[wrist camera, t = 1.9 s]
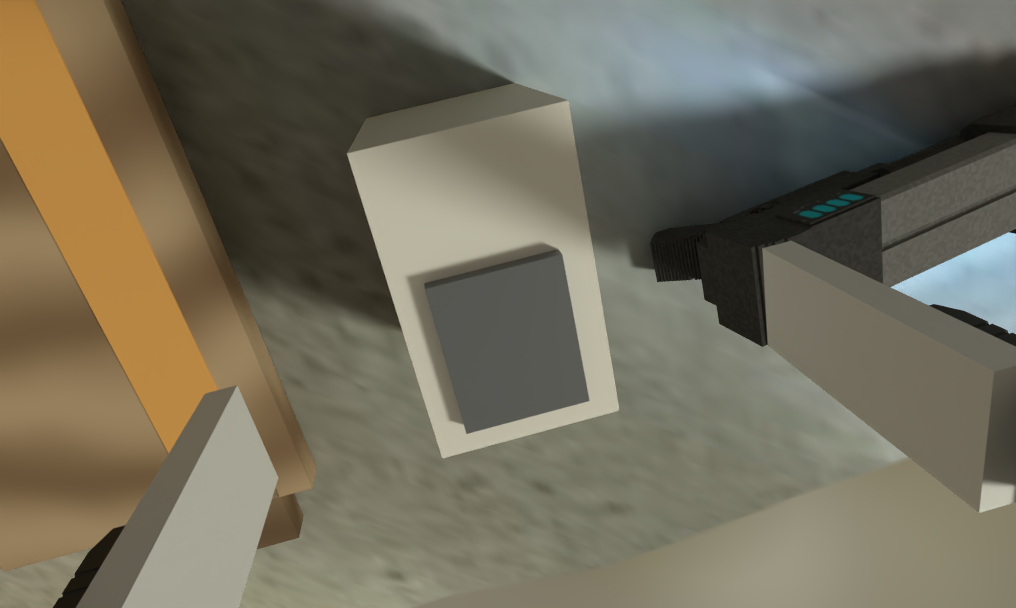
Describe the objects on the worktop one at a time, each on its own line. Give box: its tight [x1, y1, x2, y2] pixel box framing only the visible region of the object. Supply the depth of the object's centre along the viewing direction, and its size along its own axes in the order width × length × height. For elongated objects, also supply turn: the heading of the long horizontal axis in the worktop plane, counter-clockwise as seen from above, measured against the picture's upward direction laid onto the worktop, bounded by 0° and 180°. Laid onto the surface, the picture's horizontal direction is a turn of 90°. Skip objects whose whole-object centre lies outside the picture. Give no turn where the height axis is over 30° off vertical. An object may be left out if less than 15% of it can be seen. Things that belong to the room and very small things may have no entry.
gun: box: [650, 105, 1016, 347], centre depth 27 cm, size 4×20×10 cm, turn 105°
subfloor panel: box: [0, 0, 317, 572], centre depth 25 cm, size 27×14×2 cm, turn 12°
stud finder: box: [347, 83, 619, 458], centre depth 22 cm, size 10×6×10 cm, turn 12°
